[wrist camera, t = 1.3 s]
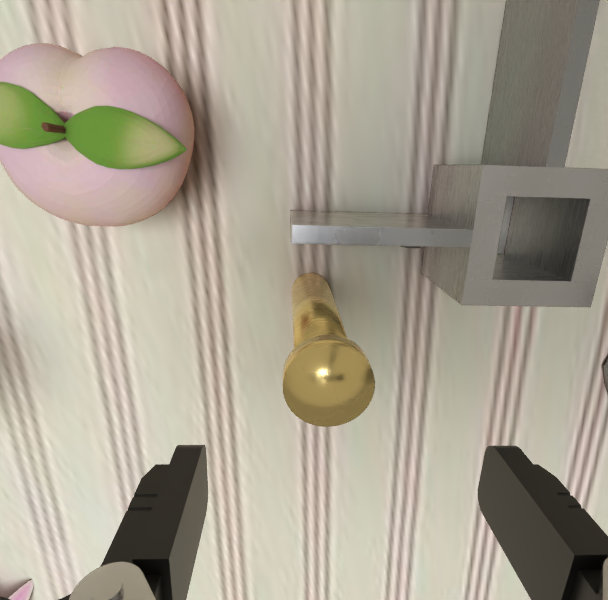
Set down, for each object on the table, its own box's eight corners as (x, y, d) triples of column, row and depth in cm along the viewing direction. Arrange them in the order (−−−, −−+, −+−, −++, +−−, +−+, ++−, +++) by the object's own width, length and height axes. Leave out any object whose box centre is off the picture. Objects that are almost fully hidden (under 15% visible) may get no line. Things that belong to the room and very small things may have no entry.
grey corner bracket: (295, -10, 23) (298, -81, 17) (573, 4, 24) (683, -58, 17) (289, 269, 28) (290, 302, 21) (520, 274, 29) (590, 307, 22)
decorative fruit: (66, 212, 26) (-58, 239, 17) (46, 67, 24) (-113, 3, 14) (215, 217, 27) (177, 246, 17) (211, 75, 24) (163, 17, 15)
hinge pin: (284, 265, 28) (283, 344, 16) (338, 266, 28) (378, 345, 16) (284, 315, 29) (282, 426, 17) (335, 316, 29) (371, 426, 17)
